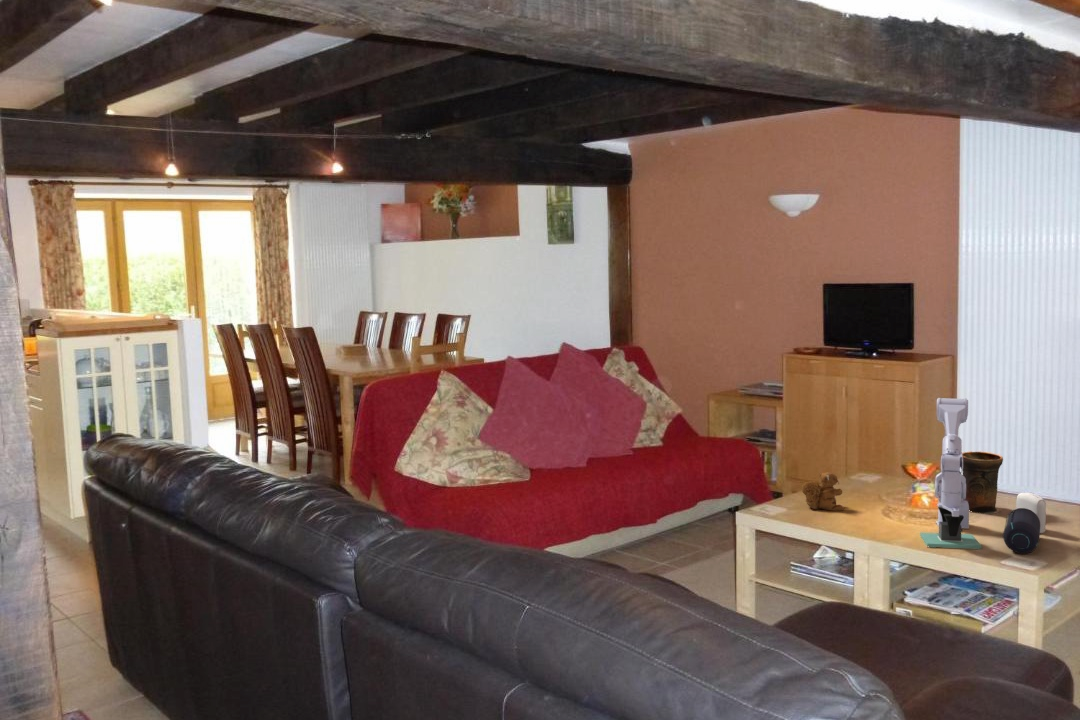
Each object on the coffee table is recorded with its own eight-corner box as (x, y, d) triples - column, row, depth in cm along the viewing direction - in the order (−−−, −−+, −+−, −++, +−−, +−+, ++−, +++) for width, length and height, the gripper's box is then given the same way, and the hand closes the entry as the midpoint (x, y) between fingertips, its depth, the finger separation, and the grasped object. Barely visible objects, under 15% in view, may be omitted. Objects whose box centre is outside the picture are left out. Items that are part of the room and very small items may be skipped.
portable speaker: (1006, 532, 314) (1007, 503, 313) (1040, 536, 309) (1041, 506, 308) (1002, 554, 292) (1002, 523, 291) (1038, 558, 287) (1039, 527, 286)
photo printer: (1013, 526, 321) (1014, 490, 320) (1024, 524, 322) (1025, 489, 321) (1036, 534, 311) (1037, 497, 310) (1047, 533, 312) (1048, 496, 311)
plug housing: (958, 537, 306) (958, 522, 305) (961, 540, 302) (961, 525, 302) (938, 536, 307) (938, 521, 307) (941, 540, 303) (941, 525, 303)
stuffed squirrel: (845, 510, 345) (846, 475, 343) (807, 512, 345) (807, 476, 343) (836, 503, 355) (837, 469, 353) (799, 504, 355) (799, 470, 353)
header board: (971, 537, 309) (972, 526, 309) (981, 549, 297) (981, 537, 297) (920, 536, 312) (920, 525, 312) (927, 547, 301) (927, 535, 300)
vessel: (990, 502, 350) (992, 450, 348) (1008, 514, 336) (1010, 459, 333) (951, 503, 351) (952, 451, 348) (967, 515, 336) (969, 460, 334)
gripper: (933, 485, 311) (932, 525, 312) (942, 496, 297) (941, 538, 298) (956, 485, 309) (955, 526, 311) (966, 497, 295) (965, 539, 297)
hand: (950, 532), depth 305 cm, fingers open, 7 cm apart
